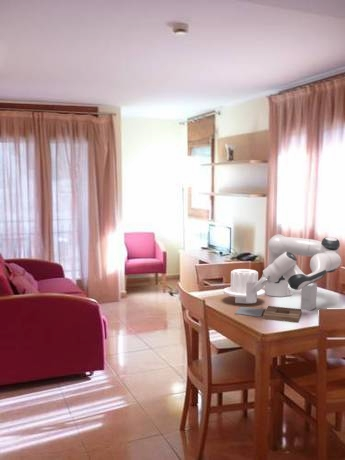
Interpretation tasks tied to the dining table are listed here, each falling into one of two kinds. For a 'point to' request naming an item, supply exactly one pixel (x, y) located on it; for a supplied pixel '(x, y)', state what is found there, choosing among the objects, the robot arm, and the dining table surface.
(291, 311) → the walnut socket block
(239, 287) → the ribbed cylinder on disc
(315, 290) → the skincare box
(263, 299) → the dining table surface
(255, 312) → the slate mat
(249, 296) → the steel plug
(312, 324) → the dining table surface
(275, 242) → the robot arm
